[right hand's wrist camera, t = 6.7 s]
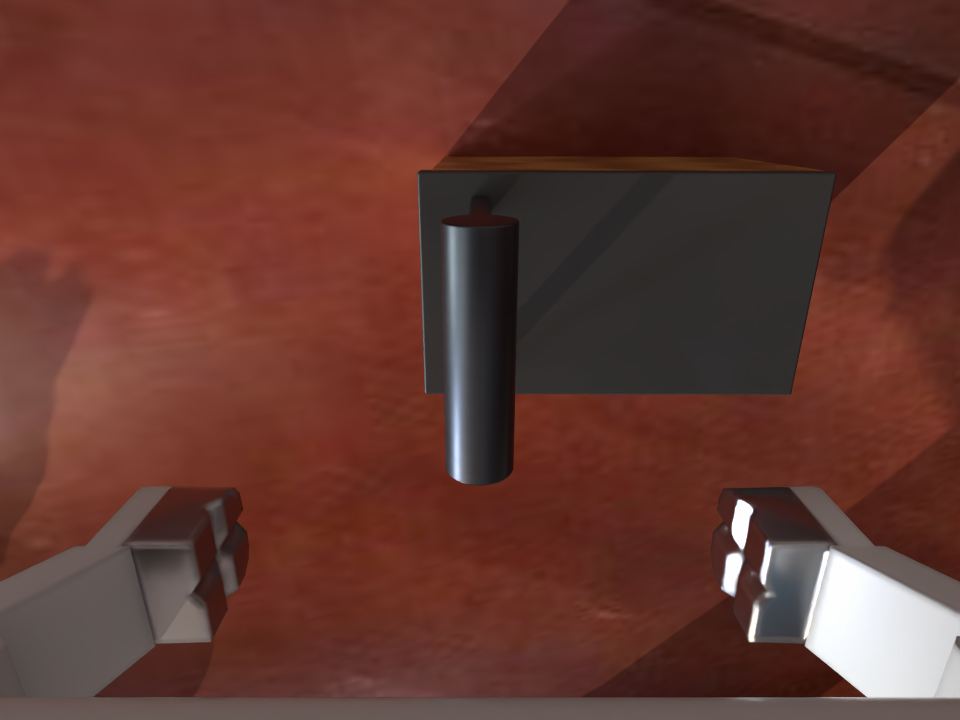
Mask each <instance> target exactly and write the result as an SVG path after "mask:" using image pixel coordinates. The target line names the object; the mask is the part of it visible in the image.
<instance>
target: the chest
mask: <svg viewBox="0 0 960 720" xmlns="http://www.w3.org/2000/svg"><path fill="white" fill-rule="evenodd" d="M432 170H674V171H824V170H817V169H810V168H803V167H797V166H790V165H783V164H776V163H769V162H762V161H756V160H749V159H742V158H735V157H515V156H446V157H444V158H443V159H442V160H441V161H440V162H439V163H438V164H437V165H436V166H435V167H434V168H433V169H432Z"/></svg>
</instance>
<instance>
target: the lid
mask: <svg viewBox="0 0 960 720" xmlns="http://www.w3.org/2000/svg"><path fill="white" fill-rule="evenodd" d="M835 179H836V173H835V172H830V171H674V170H420V171H419V172H418V173H417V180H418V209H419V238H420V267H421V296H422V325H423V354H424V383H425V393H426V394H444V404H445V450H446V470H447V472H448V474H449V475H450V476H451V477H452V478H453V479H455V480H457V481H459V482H462V483H465V484H470V485H490V484H494V483H498V482H500V481H502V480H504V479H506V478H507V477H508V476H509V475H510V474H511V472H512V471H513V457H514V418H515V394H691V395H790V394H791V391H792V386H793V382H794V377H795V372H796V367H797V362H798V357H799V353H800V348H801V343H802V338H803V333H804V329H805V324H806V319H807V314H808V309H809V304H810V300H811V295H812V290H813V285H814V280H815V276H816V271H817V266H818V261H819V256H820V252H821V247H822V242H823V237H824V232H825V227H826V223H827V218H828V213H829V208H830V203H831V199H832V194H833V189H834V184H835Z"/></svg>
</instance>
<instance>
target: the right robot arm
mask: <svg viewBox="0 0 960 720" xmlns="http://www.w3.org/2000/svg"><path fill="white" fill-rule="evenodd" d="M242 511H243V507H242V502H241V497H240V493H239V492H238V491H237V490H236V489H235V488H233V487H184V486H177V487H173V486H147V487H143V488H139V489H138V490H137V491H136V492H135V494H134V495H133V496H132V497H131V498H130V499H129V500H128V501H127V502H126V503H125V504H124V505H123V506H122V507H121V508H120V510H119V511H118V512H117V513H116V514H115V515H114V516H113V517H112V518H111V519H110V520H109V521H108V522H107V523H106V524H105V526H104V527H103V528H102V529H101V530H100V531H99V532H98V533H97V534H96V535H95V536H94V537H93V538H92V539H91V540H90V542H89V543H88V544H87V545H86V546H74V547H72V548H70V549H68V550H66V551H64V552H62V553H60V554H58V555H56V556H53V557H51V558H49V559H47V560H45V561H43V562H41V563H39V564H37V565H34V566H32V567H30V568H28V569H26V570H24V571H22V572H20V573H18V574H16V575H13V576H11V577H9V578H7V579H5V580H3V581H1V582H0V720H960V582H959V581H957V580H955V579H953V578H951V577H948V576H946V575H944V574H942V573H940V572H938V571H936V570H934V569H932V568H930V567H928V566H925V565H923V564H921V563H919V562H917V561H915V560H913V559H911V558H909V557H907V556H904V555H902V554H900V553H898V552H896V551H894V550H892V549H890V548H888V547H886V546H874V545H873V544H872V543H871V541H870V540H869V539H868V538H867V537H866V536H865V535H864V534H863V533H862V532H861V531H860V530H859V529H858V528H857V527H856V525H855V524H854V523H853V522H852V521H851V520H850V519H849V518H848V517H847V516H846V515H845V514H844V513H843V512H842V511H841V509H840V508H839V507H838V506H837V505H836V504H835V503H834V502H833V501H832V500H831V499H830V498H829V497H828V496H827V495H826V493H825V492H824V491H823V490H822V489H820V488H818V487H815V486H793V487H769V488H723V490H722V492H721V494H720V496H719V501H718V506H717V511H718V512H719V514H720V516H721V517H722V519H723V522H722V523H721V524H720V525H719V526H718V527H717V528H716V529H715V530H714V531H713V537H712V545H711V555H712V566H713V569H714V572H715V576H716V578H717V580H718V582H719V584H720V587H721V589H723V590H724V591H725V592H727V593H728V594H730V595H731V596H733V597H734V603H733V608H732V610H733V612H734V614H735V616H736V617H737V619H738V621H739V623H740V625H741V627H742V629H743V631H744V633H745V635H746V636H747V638H748V640H749V642H768V643H804V644H805V647H807V648H808V649H809V650H810V651H811V652H813V653H814V654H815V655H816V656H818V657H819V658H820V659H821V660H822V661H824V662H825V663H826V664H827V665H829V666H830V667H831V668H832V669H834V670H835V671H836V672H837V673H838V674H840V675H841V676H842V677H843V678H845V679H846V680H847V681H848V682H849V683H851V684H852V685H853V686H854V687H856V688H857V689H858V690H859V691H860V692H862V693H863V694H864V695H865V696H867V697H519V698H460V697H94V696H95V695H96V694H97V693H99V692H100V691H101V690H102V689H103V688H105V687H106V686H107V685H108V684H110V683H111V682H112V681H113V680H114V679H116V678H117V677H118V676H119V675H121V674H122V673H123V672H124V671H126V670H127V669H128V668H129V667H130V666H132V665H133V664H134V663H135V662H137V661H138V660H139V659H140V658H141V657H143V656H144V655H145V654H146V653H148V652H149V651H150V650H151V649H153V648H154V647H155V643H190V642H211V640H212V639H213V637H214V635H215V633H216V631H217V629H218V627H219V625H220V623H221V621H222V619H223V618H224V616H225V614H226V612H227V610H228V608H227V603H226V597H227V596H229V595H230V594H232V593H233V592H235V591H236V590H237V589H239V587H240V584H241V582H242V580H243V578H244V576H245V572H246V568H247V563H248V559H249V543H248V536H247V531H246V530H245V529H244V528H243V527H242V526H241V525H240V524H239V523H238V522H237V519H238V517H239V516H240V514H241V512H242Z"/></svg>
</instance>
